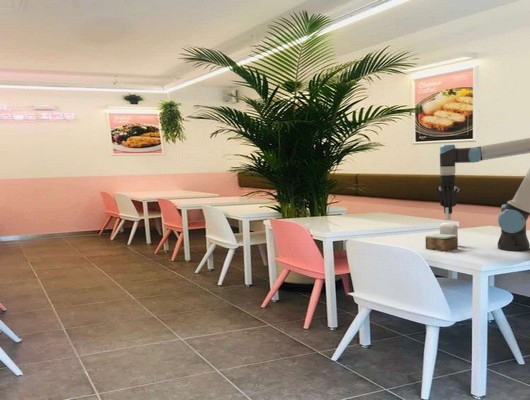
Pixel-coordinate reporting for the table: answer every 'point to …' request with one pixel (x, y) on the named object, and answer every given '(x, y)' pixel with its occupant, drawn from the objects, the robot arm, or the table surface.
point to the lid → (441, 236)
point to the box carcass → (442, 244)
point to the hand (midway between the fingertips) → (448, 219)
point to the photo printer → (448, 229)
